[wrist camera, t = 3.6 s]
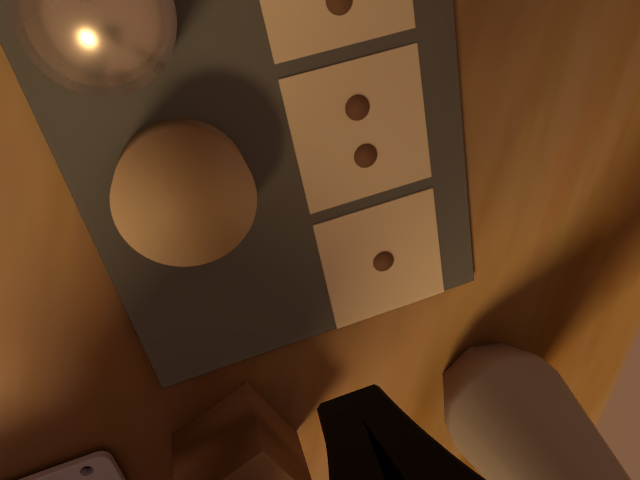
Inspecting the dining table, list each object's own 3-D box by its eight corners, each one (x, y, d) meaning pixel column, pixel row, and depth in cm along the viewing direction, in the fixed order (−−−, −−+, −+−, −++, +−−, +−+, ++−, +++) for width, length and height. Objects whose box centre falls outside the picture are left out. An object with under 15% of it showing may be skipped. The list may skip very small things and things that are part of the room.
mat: (162, 383, 21) (162, 390, 21) (-45, -60, 14) (-50, -61, 13) (470, 277, 23) (475, 281, 23) (436, -158, 16) (443, -161, 15)
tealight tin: (81, 107, 16) (68, 122, 14) (-5, -30, 14) (-33, -34, 12) (201, 53, 16) (203, 61, 14) (132, -89, 14) (124, -103, 12)
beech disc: (142, 256, 18) (141, 284, 17) (92, 138, 16) (84, 155, 15) (261, 220, 19) (271, 242, 17) (227, 102, 17) (235, 114, 15)
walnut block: (226, 477, 24) (238, 557, 21) (171, 433, 23) (173, 513, 19) (295, 429, 24) (318, 501, 21) (246, 380, 22) (262, 451, 19)
